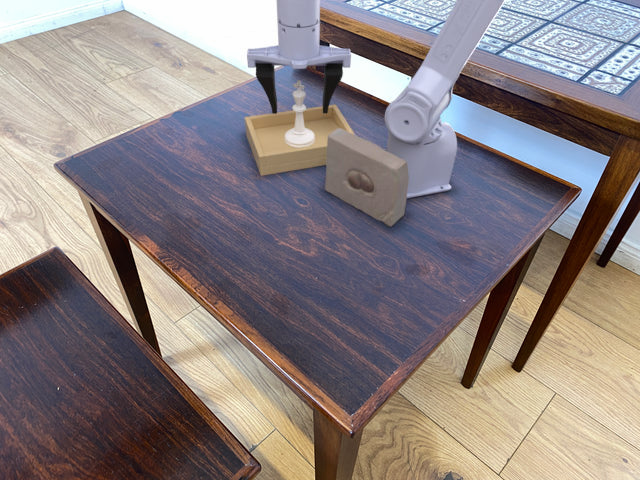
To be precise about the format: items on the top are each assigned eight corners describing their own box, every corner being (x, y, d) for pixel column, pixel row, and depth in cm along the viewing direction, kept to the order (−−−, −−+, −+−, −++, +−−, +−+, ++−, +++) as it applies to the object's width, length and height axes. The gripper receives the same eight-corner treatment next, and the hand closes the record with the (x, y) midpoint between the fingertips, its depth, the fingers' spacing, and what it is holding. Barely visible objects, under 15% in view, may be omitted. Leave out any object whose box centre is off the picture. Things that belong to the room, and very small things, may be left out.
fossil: (323, 191, 73) (324, 135, 67) (338, 180, 75) (341, 124, 69) (390, 228, 68) (399, 171, 61) (405, 215, 70) (415, 159, 63)
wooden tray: (335, 122, 87) (335, 104, 85) (357, 159, 79) (359, 141, 77) (246, 135, 84) (244, 116, 81) (260, 176, 76) (259, 156, 73)
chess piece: (306, 151, 78) (305, 92, 71) (278, 142, 80) (275, 84, 73) (320, 135, 81) (321, 77, 74) (293, 128, 83) (292, 70, 76)
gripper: (242, 31, 64) (250, 124, 74) (354, 31, 65) (349, 123, 74) (246, 10, 69) (253, 100, 79) (350, 11, 70) (345, 100, 79)
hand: (299, 110), depth 77 cm, fingers open, 7 cm apart
